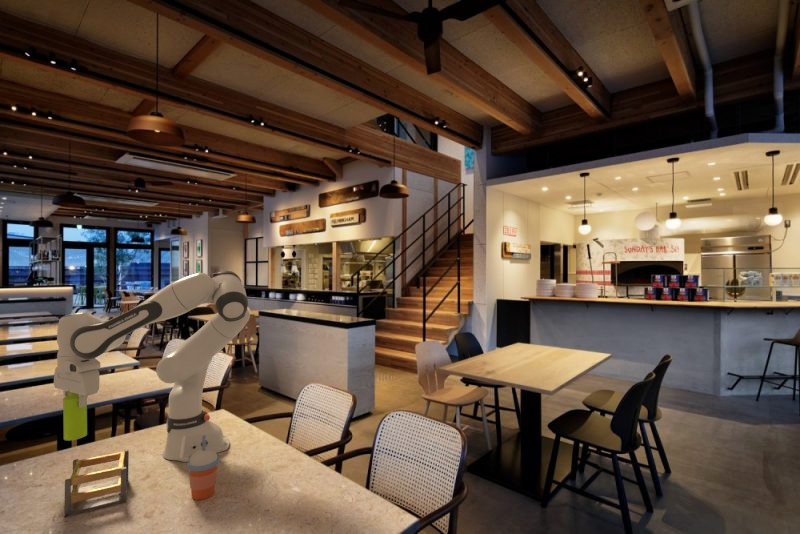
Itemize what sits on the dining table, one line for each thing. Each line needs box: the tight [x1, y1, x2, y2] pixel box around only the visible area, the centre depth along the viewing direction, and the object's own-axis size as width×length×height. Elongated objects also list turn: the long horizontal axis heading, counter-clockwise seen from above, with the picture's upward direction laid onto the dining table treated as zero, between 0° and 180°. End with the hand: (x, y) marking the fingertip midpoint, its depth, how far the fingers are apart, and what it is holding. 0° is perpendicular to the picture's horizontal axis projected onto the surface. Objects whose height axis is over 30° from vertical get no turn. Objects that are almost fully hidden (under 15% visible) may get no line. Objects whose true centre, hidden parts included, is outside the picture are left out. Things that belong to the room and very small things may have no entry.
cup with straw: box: [186, 435, 221, 501], centre depth 122 cm, size 9×9×18 cm
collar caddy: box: [63, 449, 130, 518], centre depth 119 cm, size 14×14×10 cm
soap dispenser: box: [62, 387, 88, 442], centre depth 128 cm, size 6×7×20 cm
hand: (75, 405), depth 128 cm, fingers closed on soap dispenser, 6 cm apart
